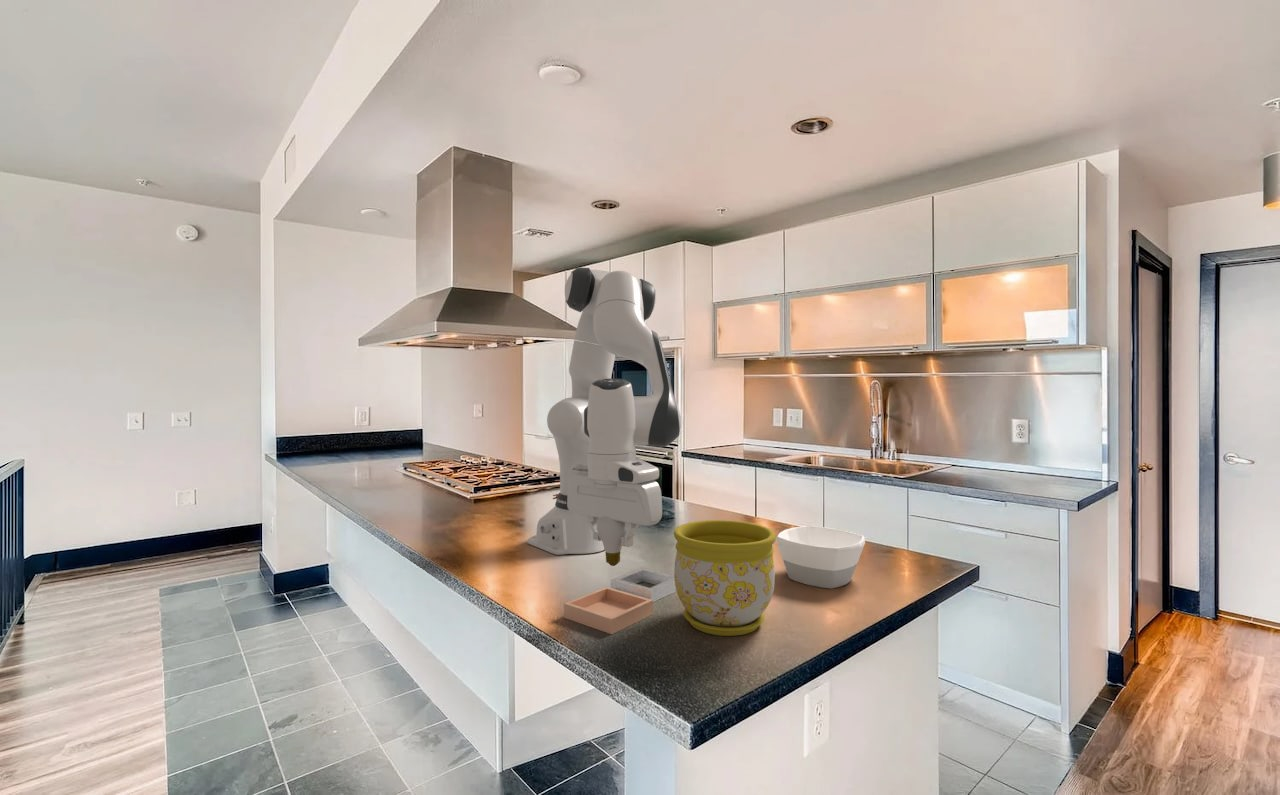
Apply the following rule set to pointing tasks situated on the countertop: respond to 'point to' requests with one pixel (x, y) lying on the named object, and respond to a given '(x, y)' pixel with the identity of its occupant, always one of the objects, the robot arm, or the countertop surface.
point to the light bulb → (611, 538)
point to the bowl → (820, 555)
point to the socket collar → (630, 581)
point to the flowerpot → (724, 574)
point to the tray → (608, 609)
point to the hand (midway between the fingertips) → (612, 542)
